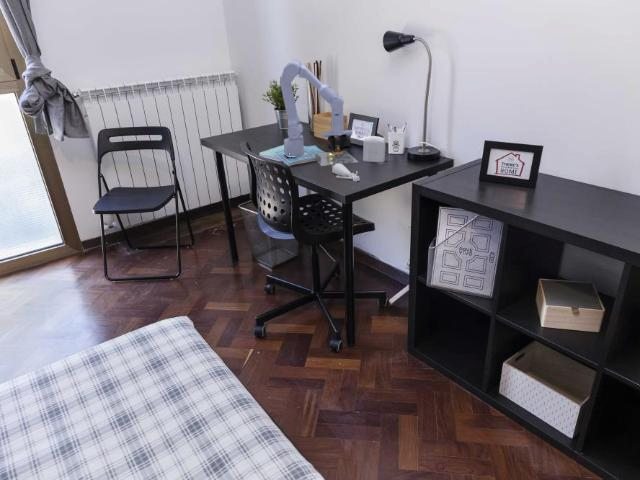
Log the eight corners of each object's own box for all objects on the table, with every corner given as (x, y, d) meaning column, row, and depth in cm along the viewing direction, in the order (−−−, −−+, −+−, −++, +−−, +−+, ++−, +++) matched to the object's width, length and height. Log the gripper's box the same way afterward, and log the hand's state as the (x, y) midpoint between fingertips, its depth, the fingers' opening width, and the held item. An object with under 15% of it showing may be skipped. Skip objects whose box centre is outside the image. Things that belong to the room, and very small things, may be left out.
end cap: (334, 152, 241) (334, 139, 238) (326, 149, 247) (326, 136, 244) (350, 149, 246) (350, 136, 243) (343, 146, 251) (343, 133, 248)
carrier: (321, 167, 219) (321, 159, 218) (310, 155, 237) (310, 148, 235) (358, 164, 223) (358, 155, 222) (345, 152, 241) (345, 144, 239)
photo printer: (385, 161, 225) (386, 135, 220) (383, 164, 222) (384, 138, 216) (364, 160, 228) (364, 134, 223) (362, 163, 225) (362, 136, 219)
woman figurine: (345, 159, 216) (370, 172, 203) (345, 168, 218) (369, 182, 205) (323, 164, 210) (347, 177, 197) (323, 173, 213) (347, 187, 200)
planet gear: (334, 155, 232) (334, 147, 231) (331, 152, 237) (331, 144, 235) (344, 155, 233) (344, 147, 232) (341, 152, 238) (341, 144, 236)
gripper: (324, 125, 223) (325, 154, 229) (354, 123, 226) (354, 151, 232) (321, 122, 229) (321, 150, 235) (350, 120, 232) (349, 147, 239)
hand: (337, 150), depth 234 cm, fingers open, 3 cm apart
